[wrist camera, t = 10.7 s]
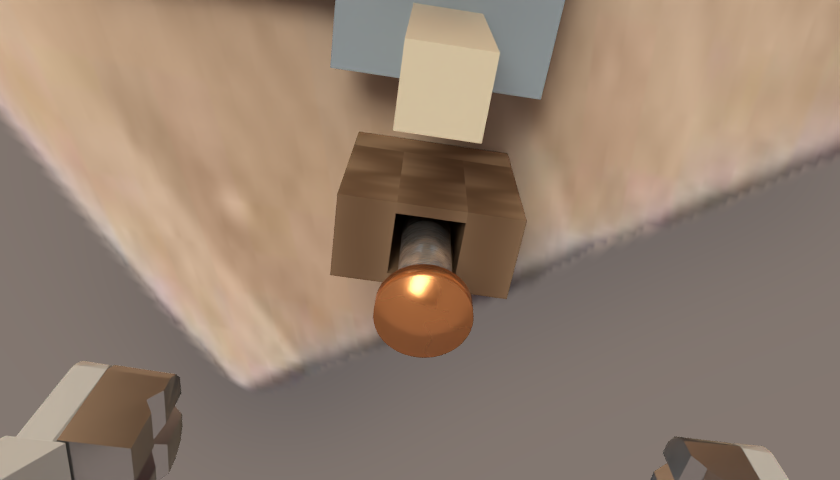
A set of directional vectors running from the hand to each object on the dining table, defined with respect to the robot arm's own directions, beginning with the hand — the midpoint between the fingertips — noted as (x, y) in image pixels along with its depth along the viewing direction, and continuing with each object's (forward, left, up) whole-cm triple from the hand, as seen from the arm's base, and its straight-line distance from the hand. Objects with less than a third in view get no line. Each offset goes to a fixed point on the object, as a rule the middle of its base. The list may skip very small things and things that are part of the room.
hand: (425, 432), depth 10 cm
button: (0, +5, -17) cm, 18 cm away
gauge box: (-1, +5, -24) cm, 24 cm away
